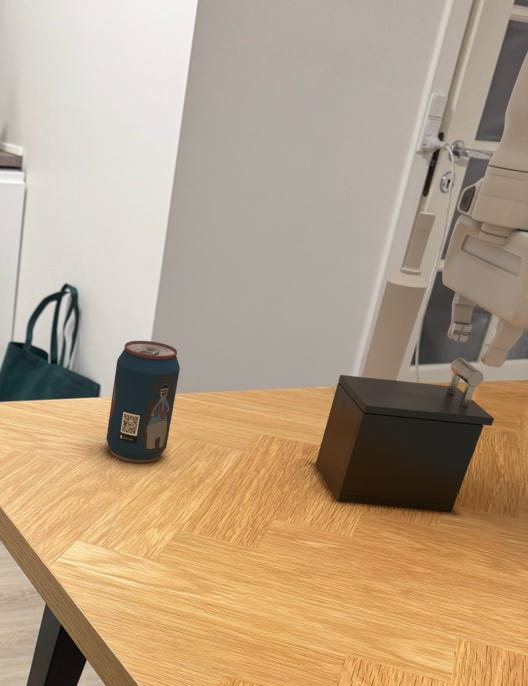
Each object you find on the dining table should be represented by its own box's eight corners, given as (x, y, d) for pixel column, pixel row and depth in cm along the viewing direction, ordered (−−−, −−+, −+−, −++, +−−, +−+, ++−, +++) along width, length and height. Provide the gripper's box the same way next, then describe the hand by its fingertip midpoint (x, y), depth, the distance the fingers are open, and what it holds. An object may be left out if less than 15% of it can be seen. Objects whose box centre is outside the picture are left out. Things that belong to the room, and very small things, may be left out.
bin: (419, 474, 106) (447, 393, 100) (451, 512, 97) (484, 425, 91) (315, 464, 105) (337, 382, 100) (337, 501, 96) (363, 413, 91)
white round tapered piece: (369, 410, 125) (427, 216, 111) (345, 398, 129) (398, 209, 115) (397, 408, 127) (457, 217, 113) (372, 396, 131) (428, 210, 117)
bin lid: (455, 393, 100) (469, 352, 98) (491, 426, 91) (508, 381, 89) (337, 381, 100) (349, 340, 97) (363, 412, 91) (376, 368, 88)
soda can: (118, 437, 106) (132, 335, 100) (172, 451, 104) (191, 347, 98) (95, 454, 101) (109, 347, 94) (152, 469, 99) (170, 361, 92)
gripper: (612, 226, 76) (546, 385, 84) (513, 196, 93) (466, 330, 101) (540, 218, 76) (481, 378, 84) (455, 189, 93) (412, 324, 101)
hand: (472, 352), depth 92 cm, fingers open, 8 cm apart
